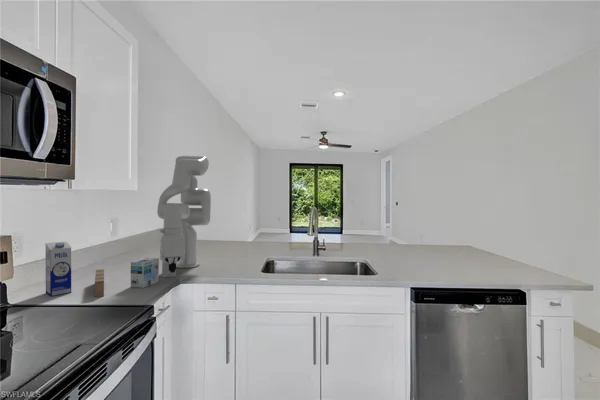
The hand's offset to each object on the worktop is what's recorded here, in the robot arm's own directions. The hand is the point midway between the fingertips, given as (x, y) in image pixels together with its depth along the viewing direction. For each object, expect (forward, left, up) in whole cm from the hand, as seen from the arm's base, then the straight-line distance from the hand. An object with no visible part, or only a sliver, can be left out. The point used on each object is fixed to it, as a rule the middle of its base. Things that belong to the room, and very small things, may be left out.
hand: (172, 271), depth 153 cm
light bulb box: (0, -11, -4) cm, 12 cm away
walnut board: (0, -28, -4) cm, 29 cm away
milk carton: (-2, -42, -4) cm, 43 cm away
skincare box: (-12, +1, -4) cm, 13 cm away
